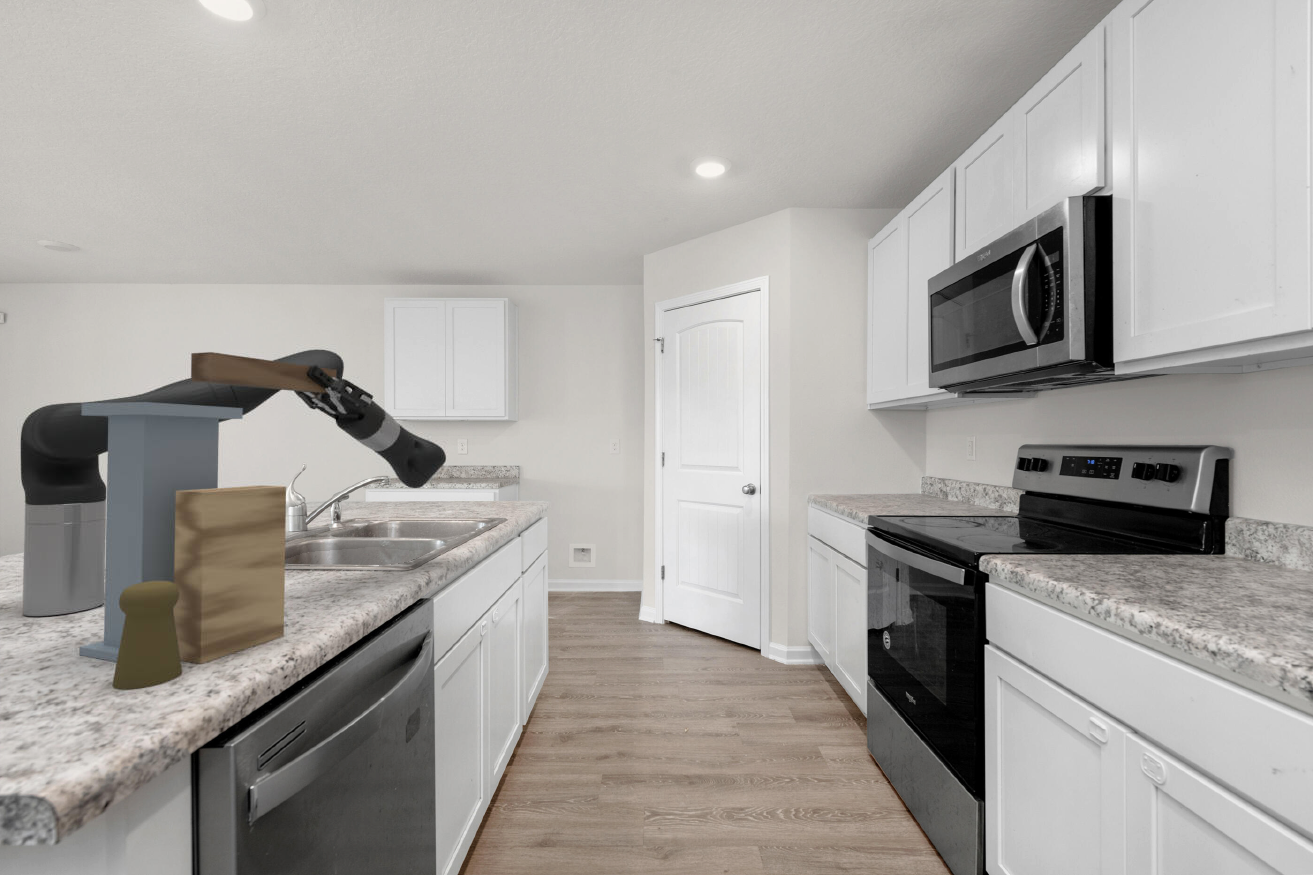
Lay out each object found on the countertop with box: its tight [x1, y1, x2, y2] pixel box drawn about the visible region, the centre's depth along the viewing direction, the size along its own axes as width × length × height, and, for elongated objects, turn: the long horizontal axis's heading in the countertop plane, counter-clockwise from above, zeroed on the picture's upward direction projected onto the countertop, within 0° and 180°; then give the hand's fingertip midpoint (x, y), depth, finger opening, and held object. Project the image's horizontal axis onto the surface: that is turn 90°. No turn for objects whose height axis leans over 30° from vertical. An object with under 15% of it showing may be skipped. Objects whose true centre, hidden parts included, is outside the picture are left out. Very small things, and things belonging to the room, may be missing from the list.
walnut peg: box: [190, 351, 336, 393], centre depth 92 cm, size 4×21×4 cm, turn 162°
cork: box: [112, 581, 183, 691], centre depth 67 cm, size 6×6×11 cm
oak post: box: [174, 485, 287, 665], centre depth 77 cm, size 5×11×21 cm, turn 162°
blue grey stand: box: [78, 402, 243, 663], centre depth 78 cm, size 12×12×32 cm
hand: (300, 370), depth 97 cm, fingers closed on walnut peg, 4 cm apart
